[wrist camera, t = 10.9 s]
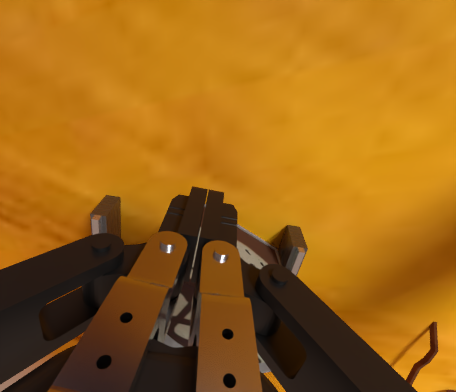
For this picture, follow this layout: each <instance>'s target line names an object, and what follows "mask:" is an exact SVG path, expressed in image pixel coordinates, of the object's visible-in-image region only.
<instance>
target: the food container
mask: <svg viewBox="0 0 456 392" xmlns="http://www.w3.org/2000/svg"><path fill="white" fill-rule="evenodd" d="M205 207H206V204H205V206H204V211H205ZM204 211H203V216H204ZM203 216H202V221H203ZM201 226H202V222H201ZM200 231H201V227H200ZM200 231H199V236H200ZM199 236H198V241H199ZM198 241H197V246H198ZM197 246H196V250H195V255H194V260H193V265H192V269H191V274H190V279H189V282H187V281H184V282H183V286H182V290H181V292H180V294H179V298H178V301H177V304H176V308H175V311H174V314H173V317H172V320H171V323H170V326H169V329H168V332H167V335H166V338H165V341H164V344H166V345H168V346H171V347H187V346H188V339H189V328H190V317H191V306H192V298H193V294H194V288H195V283H193V282H191V277H192V272H193V267H194V262H195V257H196V251H197ZM237 250H238V251H239V254H240V257H241V258H242V259H243V260H244V261H245V262H247V263H248V264H250V265H252V266H254V267H256V268H259V269H261V268H262V267H263V266H265V265H268V264H278V265H281V266H282V264H281V260H280V257H279V253H278V250H277V248H275V247H273V246H272V245H270V244H269V243H267V242H265V241H264V240H262V239H261V238H259V237H257V236H256V235H254V234H253V233H251V232H249V231H248V230H246V229H245V228H243V227H241V226H240V225H238V224H237ZM258 361H259V369H260V372H261V373H265V372H270V371H271V370H270V369H269V368H268V366H267V365H266V363H265V362H264V361H263V359H262V358H261V357H260V355H259V354H258Z"/></svg>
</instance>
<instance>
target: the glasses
mask: <svg viewBox="0 0 456 392" xmlns="http://www.w3.org/2000/svg"><path fill="white" fill-rule="evenodd" d="M429 328H430V348H431V349H430V351H429V352H428V353H427V354H426V355H425V356H424V358H423V359H421V360H420V361H418V362H417V363H415V364H414V366H413V368H412V369H411V371H410V373H409V375H408V377H407V379H406V381H407V382H408V383H409V384H410V385H411V386H412V384H413V382H414V380H415V378H416V376H417V374H418V373H419V371H420V369H421V368H423V367H424V366H425V365H427V364H428V363H430V362H431V360H432V359H433V358H434V356H435V355H436V354H437V352H438V340H437V322H433V323H432V324H431V325H430V326H429ZM446 392H456V391H454V390H447V391H446Z"/></svg>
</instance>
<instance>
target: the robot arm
mask: <svg viewBox="0 0 456 392" xmlns="http://www.w3.org/2000/svg"><path fill="white" fill-rule="evenodd" d="M207 190H208V189H203V188H198V187H193V186H192V189H191V192H190V195H189V196H184V195H178V196H176V197H175V198H173V199H172V201H171V203H170V206H169V208H168V210H167V213H166V215H165V217H164V220H163V222H162V224H161V227H160V229H159V232H158V233H156V234H154V235H152V236H151V237H150V239H149V240H148V242H147V243H143V244H138V245H124V242H123V240H122V239H121V238H120V237H118V236H116V235H114V234H110V233H98V234H94V235H91V236H88V237H85V238H83V239H80V240H77V241H75V242H72V243H70V244H67V245H64V246H62V247H59V248H56V249H54V250H51V251H49V252H46V253H43V254H41V255H38V256H35V257H33V258H30V259H28V260H25V261H22V262H20V263H17V264H14V265H12V266H9V267H6V268H4V269H1V270H0V384H2V383H3V382H5V381H6V380H8V379H10V378H11V377H13V376H14V375H16V374H18V373H19V372H21V371H23V370H24V369H26V368H27V367H29V366H30V365H32V364H34V363H35V362H37V361H38V360H40V359H42V358H43V357H45V356H46V355H48V354H50V353H51V352H53V351H54V350H56V349H58V348H59V347H61V346H62V345H64V344H65V343H67V342H69V341H70V340H72V339H74V338H75V337H77V336H78V335H80V334H82V333H83V332H84V334H83V336H82V337H81V339H80V340H79V342H78V344H77V345H75V346H72V347H70V348H68V349H66V350H64V351H62V352H60V353H58V354H57V355H55V356H54V357H52V358H51V359H49V360H48V361H46V362H45V363H43V364H42V365H40V366H39V367H37V368H36V369H34V370H33V371H31V372H30V373H28V374H27V375H25V376H24V377H22V378H21V379H19V380H18V381H16V382H15V383H13V384H12V385H10V386H9V387H7V388H6V389H5V390H3V391H2V392H278V391H277V389H276V388H275V387H274V385H273V384H272V383H271V382H270V381H269V379H268V378H267V377H265V376H264V375H263V374H262V373H261V372H260V369H259V361H258V354H259V355H260V357H261V358H262V359H263V361H264V362H265V363H266V365H267V366H268V368H269V369H270V370H271V372H272V373H273V374H274V376H275V377H276V379H277V380H278V381H279V383H280V384H281V385H282V387H283V388H284V389H285V391H286V392H417V391H416V390H415V389H414V388H413V387H412V386H411V385H410V384H409V383H408V382H407V381H406V380H405V379H404V378H403V377H401V376H400V375H399V374H398V373H397V372H396V371H395V370H394V369H393V368H392V367H391V366H390V365H389V364H388V363H387V362H386V361H385V360H384V359H383V358H382V357H381V356H379V355H378V354H377V353H376V352H375V351H374V350H373V349H372V348H371V347H370V346H369V345H368V344H367V343H366V342H365V341H364V340H363V339H362V338H361V337H360V336H358V335H357V334H356V333H355V332H354V331H353V330H352V329H351V328H350V327H349V326H348V325H347V324H346V323H345V322H344V321H343V320H342V319H341V318H340V317H339V316H338V315H336V314H335V313H334V312H333V311H332V310H331V309H330V308H329V307H328V306H327V305H326V304H325V303H324V302H323V301H322V300H321V299H320V298H319V297H318V296H317V295H315V294H314V293H313V292H312V291H311V290H310V289H309V288H308V287H307V286H306V285H305V284H304V283H303V282H302V281H301V280H300V279H299V278H298V277H297V276H296V275H295V274H293V273H292V272H291V271H290V270H289V269H287V268H286V267H284V266H281V265H278V264H268V265H265V266H263V267H262V268H261V269H259V268H256V267H254V266H252V265H250V264H248V263H247V262H245V261H244V260H243V259H242V258H241V257H240V254H239V251H238V250H237V211H236V209H235V207H234V206H233V205H231V204H226V203H223V198H224V192H219V191H213V190H209V192H208V197H207V202H206V207H205V211H204V206H205V201H206V195H207ZM203 211H204V216H203ZM202 216H203V221H202ZM201 222H202V226H201ZM200 227H201V231H200ZM199 231H200V236H199ZM198 236H199V241H198ZM197 241H198V246H197ZM196 246H197V251H196V257H195V262H194V267H193V272H192V277H191V282H193V283H195V288H194V294H193V298H192V306H191V317H190V328H189V339H188V346H187V347H171V346H168V345H166V344H164V341H165V338H166V335H167V332H168V329H169V326H170V323H171V320H172V317H173V314H174V311H175V308H176V304H177V301H178V298H179V294H180V292H181V290H182V286H183V282H184V281H187V282H189V279H190V274H191V269H192V265H193V260H194V255H195V250H196ZM80 286H82V287H81V288H79V289H77V290H75V291H73V292H71V293H69V294H67V295H65V296H63V297H61V298H59V299H57V300H55V301H53V302H51V301H52V300H54V299H56V298H58V297H60V296H62V295H64V294H66V293H68V292H70V291H72V290H74V289H76V288H78V287H80ZM49 302H51V303H49ZM47 303H49V304H47ZM46 304H47V305H46Z"/></svg>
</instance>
